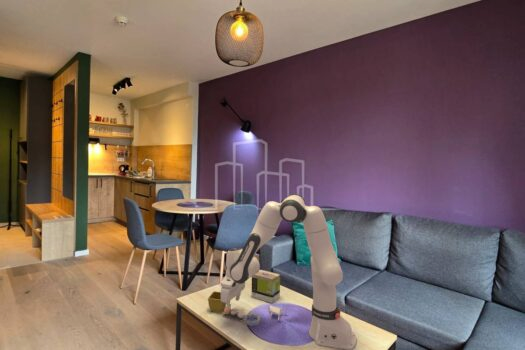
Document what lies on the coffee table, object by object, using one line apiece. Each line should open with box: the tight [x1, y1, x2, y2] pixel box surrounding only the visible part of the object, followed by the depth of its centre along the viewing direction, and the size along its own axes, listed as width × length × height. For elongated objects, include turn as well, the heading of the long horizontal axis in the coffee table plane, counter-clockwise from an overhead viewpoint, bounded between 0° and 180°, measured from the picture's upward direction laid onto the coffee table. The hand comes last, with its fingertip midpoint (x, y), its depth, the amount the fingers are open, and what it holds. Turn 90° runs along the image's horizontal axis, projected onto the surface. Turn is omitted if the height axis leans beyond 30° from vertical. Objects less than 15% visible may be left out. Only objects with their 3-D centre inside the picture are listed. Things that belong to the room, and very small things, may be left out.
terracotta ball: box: [223, 306, 232, 315], centre depth 161 cm, size 4×4×4 cm
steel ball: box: [230, 307, 239, 316], centre depth 159 cm, size 4×4×4 cm
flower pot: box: [207, 290, 227, 314], centre depth 165 cm, size 9×9×9 cm
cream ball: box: [237, 309, 246, 318], centre depth 157 cm, size 4×4×4 cm
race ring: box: [242, 313, 262, 327], centre depth 155 cm, size 8×8×2 cm
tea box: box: [251, 269, 281, 304], centre depth 183 cm, size 15×10×15 cm
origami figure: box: [268, 304, 285, 322], centre depth 161 cm, size 12×8×5 cm
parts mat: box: [221, 313, 243, 323], centre depth 159 cm, size 11×7×1 cm, turn 66°
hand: (233, 303), depth 158 cm, fingers open, 8 cm apart
